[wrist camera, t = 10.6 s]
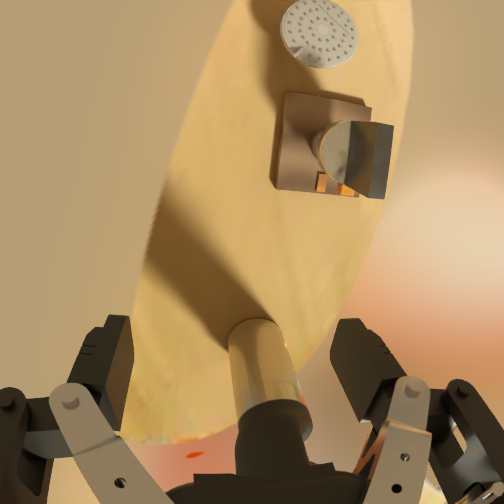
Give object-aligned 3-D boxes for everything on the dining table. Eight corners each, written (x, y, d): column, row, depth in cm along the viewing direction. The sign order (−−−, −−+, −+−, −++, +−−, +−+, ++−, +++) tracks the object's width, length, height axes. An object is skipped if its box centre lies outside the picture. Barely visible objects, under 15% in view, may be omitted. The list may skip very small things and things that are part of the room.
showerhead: (262, 28, 27) (320, -19, 25) (253, 43, 34) (302, 0, 32) (325, 85, 31) (376, 36, 29) (306, 90, 37) (351, 46, 35)
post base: (354, 195, 44) (378, 209, 37) (274, 186, 42) (287, 200, 35) (366, 107, 39) (394, 107, 32) (284, 91, 37) (301, 86, 30)
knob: (375, 125, 33) (416, 130, 25) (367, 193, 36) (404, 214, 28) (318, 115, 32) (350, 116, 24) (311, 189, 35) (339, 209, 27)
